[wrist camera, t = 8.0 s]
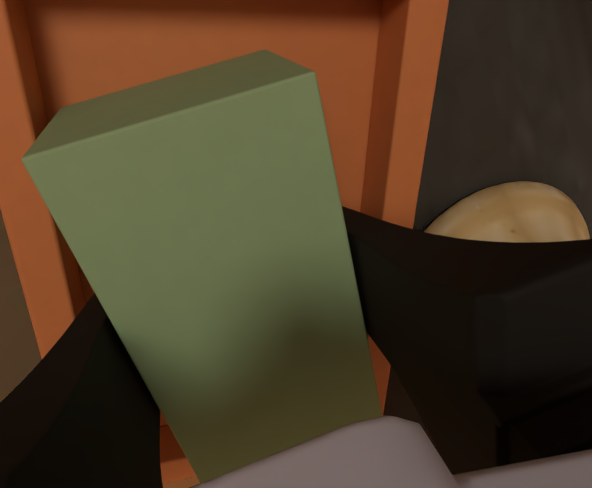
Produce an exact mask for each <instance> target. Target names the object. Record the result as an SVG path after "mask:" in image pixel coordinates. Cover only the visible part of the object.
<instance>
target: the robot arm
mask: <svg viewBox="0 0 592 488" xmlns="http://www.w3.org/2000/svg"><path fill="white" fill-rule="evenodd" d="M342 210H343V215H344V220H345V225H346V230H347V235H348V241H349V246H350V251H351V256H352V261H353V266H354V271H355V277H356V282H357V287H358V292H359V297H360V302H361V307H362V313H363V318H364V323H365V328H366V332H367V333H368V335H369V336H370V337H371V339H372V340H373V341H374V343H375V344H376V345H377V347H378V348H379V350H380V351H381V352H382V354H383V355H384V356H385V358H386V359H387V361H388V362H389V364H390V365H391V367H392V368H393V370H394V371H395V373H396V374H397V376H398V378H399V380H400V381H401V383H402V385H403V387H404V388H405V390H406V392H407V394H408V395H409V397H410V399H411V401H412V402H413V404H414V406H415V408H416V410H417V411H418V413H419V415H420V417H421V419H422V420H423V422H424V424H425V426H426V428H427V430H428V431H429V433H430V435H431V437H432V439H433V441H434V443H435V444H436V446H437V448H438V450H439V452H440V454H441V456H442V458H443V460H444V461H443V460H442V458H441V457H440V455H439V453H438V452H437V450H436V449H435V447H434V446H433V444H432V442H431V441H430V439H429V438H428V436H427V435H426V433H425V432H424V430H423V428H422V427H421V425H420V424H419V423H416V422H413V421H409V420H405V419H402V418H398V417H395V416H380V417H376V418H371V419H366V420H361V421H356V422H352V423H349V424H347V425H344V426H342V427H339V428H337V429H334V430H332V431H329V432H327V433H324V434H322V435H319V436H317V437H314V438H312V439H309V440H307V441H304V442H302V443H299V444H297V445H294V446H292V447H289V448H287V449H284V450H282V451H279V452H277V453H275V454H272V455H270V456H267V457H265V458H262V459H260V460H257V461H255V462H252V463H250V464H247V465H245V466H242V467H240V468H237V469H235V470H232V471H230V472H227V473H225V474H222V475H220V476H217V477H215V478H212V479H210V480H207V481H205V482H202V483H200V484H197V485H195V486H193V487H190V488H592V239H586V240H572V241H558V242H493V241H480V240H469V239H461V238H454V237H448V236H442V235H436V234H431V233H426V232H422V231H418V230H414V229H410V228H406V227H403V226H399V225H396V224H393V223H390V222H386V221H383V220H380V219H377V218H375V217H372V216H369V215H366V214H363V213H361V212H358V211H355V210H352V209H349V208H346V207H343V206H342ZM444 462H445V463H446V464H445V463H444ZM446 465H447V466H446ZM447 467H448V468H447ZM0 488H163V486H162V476H161V466H160V409H159V407H158V406H157V404H156V402H155V400H154V398H153V397H152V395H151V393H150V391H149V389H148V388H147V386H146V384H145V382H144V380H143V379H142V377H141V375H140V373H139V371H138V370H137V368H136V366H135V364H134V362H133V361H132V359H131V357H130V355H129V353H128V352H127V350H126V348H125V346H124V344H123V343H122V341H121V339H120V337H119V335H118V334H117V332H116V330H115V328H114V326H113V325H112V323H111V321H110V319H109V317H108V316H107V314H106V312H105V310H104V308H103V307H102V305H101V303H100V301H99V299H98V298H97V296H96V294H95V293H94V294H93V295H92V297H91V298H90V299H89V301H88V302H87V303H86V305H85V306H84V307H83V309H82V310H81V311H80V313H79V314H78V315H77V317H76V318H75V319H74V321H73V322H72V323H71V325H70V326H69V327H68V329H67V330H66V331H65V332H64V334H63V335H62V336H61V337H60V339H59V340H58V341H57V342H56V343H55V345H54V346H53V347H52V348H51V349H50V351H49V352H48V353H47V354H46V355H45V357H44V358H43V359H42V360H41V361H40V363H39V364H38V365H37V366H36V367H35V368H34V369H33V370H32V371H31V373H30V374H29V375H28V376H27V377H26V378H25V379H24V380H23V381H22V382H21V383H20V384H19V385H18V386H17V387H16V388H15V389H14V390H13V391H12V392H11V393H10V394H9V395H8V396H7V397H6V398H5V399H4V400H3V401H1V402H0Z"/></svg>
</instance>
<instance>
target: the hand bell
mask: <svg viewBox="0 0 592 488" xmlns="http://www.w3.org/2000/svg"><path fill="white" fill-rule="evenodd" d="M424 232H426V233H431V234H436V235H442V236H448V237H454V238H461V239H469V240H480V241H493V242H558V241H572V240H586V239H590V237H589V233H588V228H587V226H586V223H585V221H584V219H583V216H582V215H581V213H580V211H579V209H578V208H577V207H576V205H575V203H574V202H573V201H572V200H571V199H570V198H569V197H568V196H567V195H565V194H564V193H563V192H562V191H560V190H559V189H557V188H555V187H552V186H550V185H547V184H543V183H538V182H532V181H515V182H507V183H502V184H499V185H495V186H491V187H488V188H485V189H482V190H480V191H478V192H475V193H473V194H472V195H470V196H468V197H466V198H464V199H462V200H460V201H459V202H457V203H456V204H454V205H453V206H451V207H450V208H449V209H447V210H446V211H445V212H444V213H442V214H441V215H440V216H438V217H437V218H436V219H435V220H434V221H433V222H432V223H431V224H430V225H429V226H428V227H427V228H426V229H425V230H424Z"/></svg>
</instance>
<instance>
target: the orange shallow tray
mask: <svg viewBox="0 0 592 488" xmlns="http://www.w3.org/2000/svg"><path fill="white" fill-rule="evenodd" d="M448 4H449V0H0V209H1V212H2V216H3V220H4V223H5V227H6V231H7V234H8V238H9V242H10V245H11V249H12V252H13V256H14V260H15V263H16V267H17V271H18V274H19V278H20V281H21V285H22V289H23V292H24V296H25V300H26V303H27V307H28V311H29V314H30V318H31V321H32V325H33V329H34V332H35V336H36V340H37V343H38V347H39V351H40V354H41V358H42V359H43V358H44V357H45V355H46V354H47V353H48V352H49V351H50V349H51V348H52V347H53V346H54V345H55V343H56V342H57V341H58V340H59V339H60V337H61V336H62V335H63V334H64V332H65V331H66V330H67V329H68V327H69V326H70V325H71V323H72V322H73V321H74V319H75V318H76V317H77V315H78V314H79V313H80V311H81V310H82V309H83V307H84V306H85V305H86V303H87V302H88V301H89V299H90V298H91V297H92V295H93V294H94V293H95V292H94V290H93V289H92V287H91V285H90V283H89V281H88V280H87V278H86V276H85V274H84V272H83V271H82V269H81V267H80V265H79V263H78V262H77V260H76V258H75V256H74V254H73V253H72V251H71V249H70V247H69V245H68V244H67V242H66V240H65V238H64V236H63V235H62V233H61V231H60V229H59V227H58V226H57V224H56V222H55V220H54V218H53V217H52V215H51V213H50V211H49V209H48V208H47V206H46V204H45V202H44V200H43V199H42V197H41V195H40V193H39V191H38V190H37V188H36V186H35V184H34V182H33V181H32V179H31V177H30V175H29V173H28V172H27V170H26V168H25V166H24V164H23V163H22V157H23V156H24V154H25V153H26V152H27V151H28V149H29V148H30V147H31V145H32V144H33V143H34V142H35V140H36V139H37V138H38V136H39V135H40V134H41V133H42V131H43V130H44V129H45V128H46V126H47V125H48V124H49V122H50V121H51V120H52V119H53V117H54V116H55V115H56V114H57V112H58V111H59V110H60V109H61V108H62V107H64V106H68V105H71V104H75V103H78V102H82V101H85V100H89V99H92V98H96V97H99V96H103V95H106V94H110V93H113V92H117V91H120V90H124V89H127V88H131V87H134V86H138V85H141V84H145V83H148V82H152V81H155V80H159V79H162V78H166V77H169V76H173V75H176V74H180V73H183V72H187V71H190V70H194V69H197V68H201V67H204V66H208V65H211V64H215V63H218V62H222V61H225V60H229V59H232V58H236V57H239V56H243V55H246V54H250V53H253V52H257V51H260V50H268V51H270V52H272V53H275V54H277V55H279V56H281V57H283V58H286V59H288V60H290V61H292V62H295V63H297V64H299V65H301V66H304V67H306V68H308V69H310V70H312V71H314V72H315V73H316V76H317V81H318V86H319V91H320V96H321V102H322V107H323V112H324V117H325V122H326V127H327V132H328V138H329V143H330V148H331V153H332V158H333V163H334V168H335V174H336V179H337V184H338V189H339V194H340V199H341V204H342V206H343V207H346V208H349V209H352V210H355V211H358V212H361V213H363V214H366V215H369V216H372V217H375V218H377V219H380V220H383V221H386V222H390V223H393V224H396V225H399V226H403V227H406V228H410V229H413V224H414V218H415V211H416V205H417V199H418V192H419V186H420V180H421V174H422V167H423V161H424V155H425V148H426V142H427V136H428V130H429V123H430V117H431V111H432V105H433V98H434V92H435V86H436V79H437V73H438V67H439V61H440V54H441V48H442V42H443V36H444V29H445V23H446V17H447V10H448ZM366 333H367V332H366ZM367 338H368V343H369V349H370V354H371V359H372V364H373V369H374V374H375V380H376V385H377V390H378V395H379V400H380V405H381V410H382V416H383V412H384V406H385V399H386V393H387V387H388V381H389V374H390V368H391V365H390V364H389V362H388V361H387V359H386V358H385V356H384V355H383V354H382V352H381V351H380V350H379V348H378V347H377V345H376V344H375V343H374V341H373V340H372V339H371V337H370V336H369V335H368V333H367ZM160 466H161V476H162V484H164V483H169V482H174V481H179V480H183V479H188V478H192V477H197V476H196V474H195V472H194V470H193V469H192V467H191V465H190V463H189V461H188V460H187V458H186V456H185V454H184V452H183V451H182V449H181V447H180V445H179V443H178V442H177V440H176V438H175V436H174V434H173V433H172V431H171V429H170V427H169V425H168V424H167V422H166V420H165V418H164V416H163V415H162V413H161V411H160Z"/></svg>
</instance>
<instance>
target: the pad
mask: <svg viewBox="0 0 592 488" xmlns="http://www.w3.org/2000/svg"><path fill="white" fill-rule="evenodd" d="M22 163H23V164H24V166H25V168H26V170H27V172H28V173H29V175H30V177H31V179H32V181H33V182H34V184H35V186H36V188H37V190H38V191H39V193H40V195H41V197H42V199H43V200H44V202H45V204H46V206H47V208H48V209H49V211H50V213H51V215H52V217H53V218H54V220H55V222H56V224H57V226H58V227H59V229H60V231H61V233H62V235H63V236H64V238H65V240H66V242H67V244H68V245H69V247H70V249H71V251H72V253H73V254H74V256H75V258H76V260H77V262H78V263H79V265H80V267H81V269H82V271H83V272H84V274H85V276H86V278H87V280H88V281H89V283H90V285H91V287H92V289H93V290H94V292H95V294H96V296H97V298H98V299H99V301H100V303H101V305H102V307H103V308H104V310H105V312H106V314H107V316H108V317H109V319H110V321H111V323H112V325H113V326H114V328H115V330H116V332H117V334H118V335H119V337H120V339H121V341H122V343H123V344H124V346H125V348H126V350H127V352H128V353H129V355H130V357H131V359H132V361H133V362H134V364H135V366H136V368H137V370H138V371H139V373H140V375H141V377H142V379H143V380H144V382H145V384H146V386H147V388H148V389H149V391H150V393H151V395H152V397H153V398H154V400H155V402H156V404H157V406H158V407H159V409H160V411H161V413H162V415H163V416H164V418H165V420H166V422H167V424H168V425H169V427H170V429H171V431H172V433H173V434H174V436H175V438H176V440H177V442H178V443H179V445H180V447H181V449H182V451H183V452H184V454H185V456H186V458H187V460H188V461H189V463H190V465H191V467H192V469H193V470H194V472H195V474H196V476H197V478H198V479H199V481H200V483H202V482H205V481H207V480H210V479H212V478H215V477H217V476H220V475H222V474H225V473H227V472H230V471H232V470H235V469H237V468H240V467H242V466H245V465H247V464H250V463H252V462H255V461H257V460H260V459H262V458H265V457H267V456H270V455H272V454H275V453H277V452H279V451H282V450H284V449H287V448H289V447H292V446H294V445H297V444H299V443H302V442H304V441H307V440H309V439H312V438H314V437H317V436H319V435H322V434H324V433H327V432H329V431H332V430H334V429H337V428H339V427H342V426H344V425H347V424H349V423H352V422H356V421H361V420H366V419H371V418H376V417H380V416H382V410H381V405H380V400H379V395H378V390H377V385H376V380H375V374H374V369H373V364H372V359H371V354H370V349H369V343H368V338H367V333H366V328H365V323H364V318H363V313H362V307H361V302H360V297H359V292H358V287H357V282H356V277H355V271H354V266H353V261H352V256H351V251H350V246H349V241H348V235H347V230H346V225H345V220H344V215H343V210H342V204H341V199H340V194H339V189H338V184H337V179H336V174H335V168H334V163H333V158H332V153H331V148H330V143H329V138H328V132H327V127H326V122H325V117H324V112H323V107H322V102H321V96H320V91H319V86H318V81H317V76H316V73H315V72H314V71H312V70H310V69H308V68H306V67H304V66H301V65H299V64H297V63H295V62H292V61H290V60H288V59H286V58H283V57H281V56H279V55H277V54H275V53H272V52H270V51H268V50H260V51H257V52H253V53H250V54H246V55H243V56H239V57H236V58H232V59H229V60H225V61H222V62H218V63H215V64H211V65H208V66H204V67H201V68H197V69H194V70H190V71H187V72H183V73H180V74H176V75H173V76H169V77H166V78H162V79H159V80H155V81H152V82H148V83H145V84H141V85H138V86H134V87H131V88H127V89H124V90H120V91H117V92H113V93H110V94H106V95H103V96H99V97H96V98H92V99H89V100H85V101H82V102H78V103H75V104H71V105H68V106H64V107H62V108H61V109H60V110H59V111H58V112H57V114H56V115H55V116H54V117H53V119H52V120H51V121H50V122H49V124H48V125H47V126H46V128H45V129H44V130H43V131H42V133H41V134H40V135H39V136H38V138H37V139H36V140H35V142H34V143H33V144H32V145H31V147H30V148H29V149H28V151H27V152H26V153H25V154H24V156H23V157H22Z"/></svg>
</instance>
